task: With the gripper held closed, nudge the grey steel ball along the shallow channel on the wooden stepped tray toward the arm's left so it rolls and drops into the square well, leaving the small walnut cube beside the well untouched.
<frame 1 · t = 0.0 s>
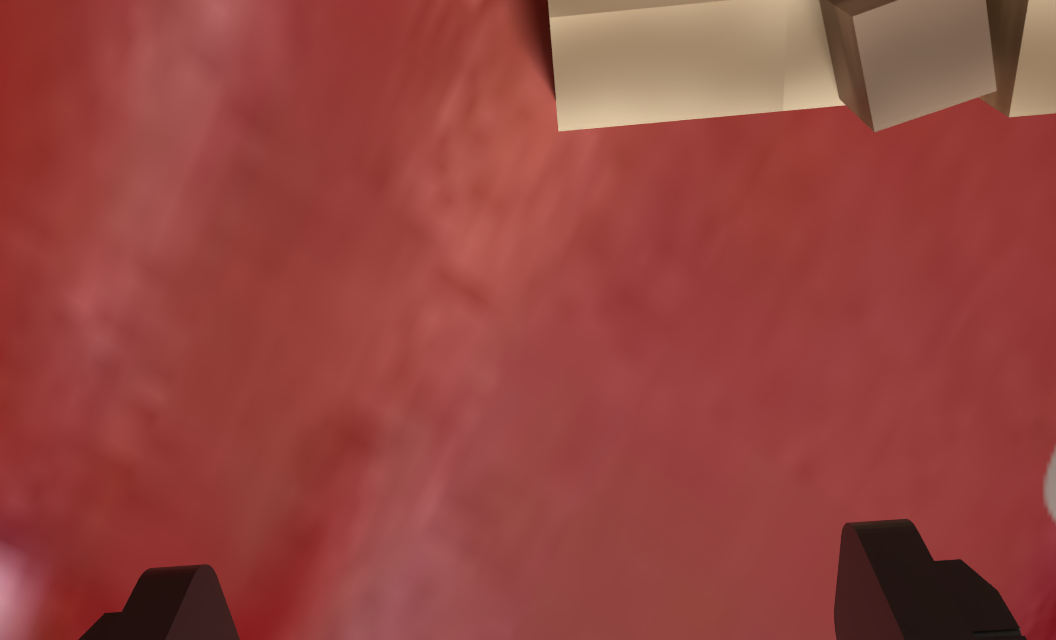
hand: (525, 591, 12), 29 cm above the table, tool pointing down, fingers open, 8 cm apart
walnut cube: (884, 28, 33), point 4 cm above the table, touching wooden stepped tray
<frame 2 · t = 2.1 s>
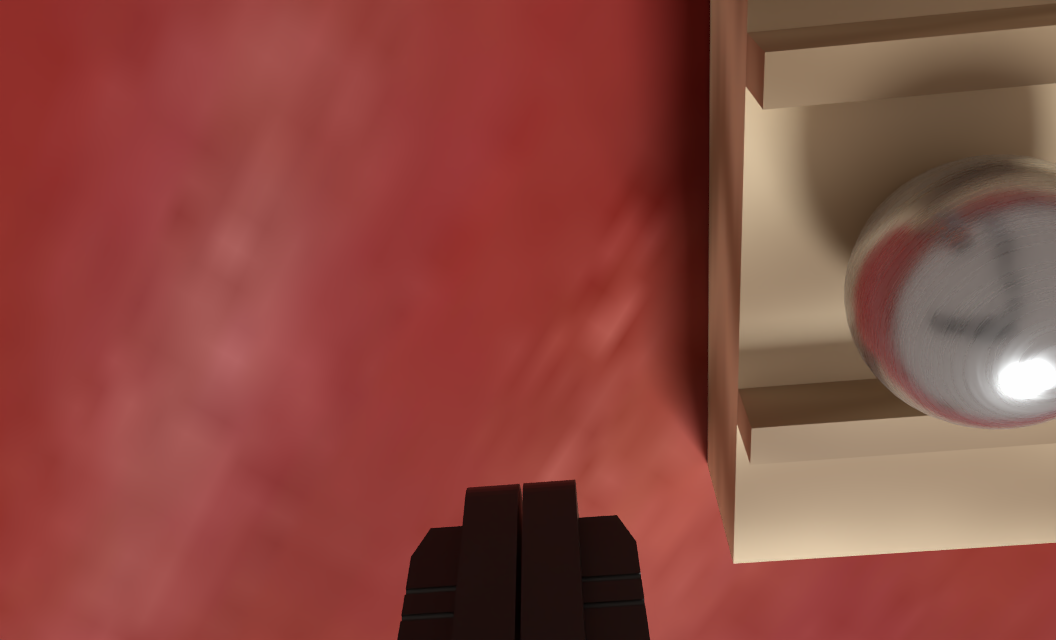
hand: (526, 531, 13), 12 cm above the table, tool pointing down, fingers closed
ball: (988, 292, 17), point 6 cm above the table, touching wooden stepped tray
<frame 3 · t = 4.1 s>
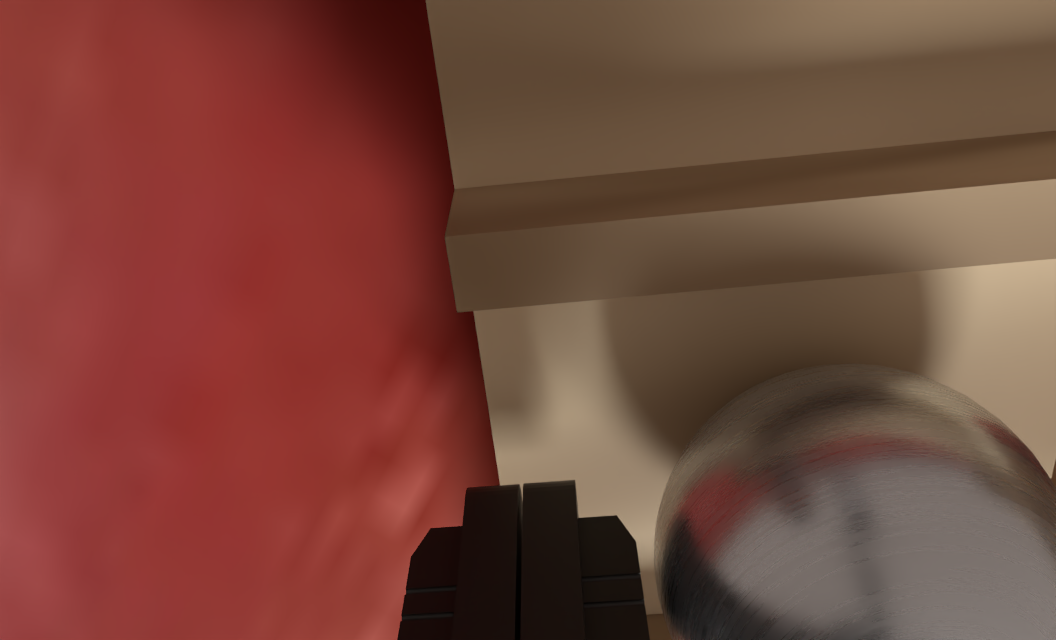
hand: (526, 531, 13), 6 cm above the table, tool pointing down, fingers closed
ball: (852, 560, 11), point 6 cm above the table, touching gripper, wooden stepped tray
wooden stepped tray: (982, 290, 17), on the table
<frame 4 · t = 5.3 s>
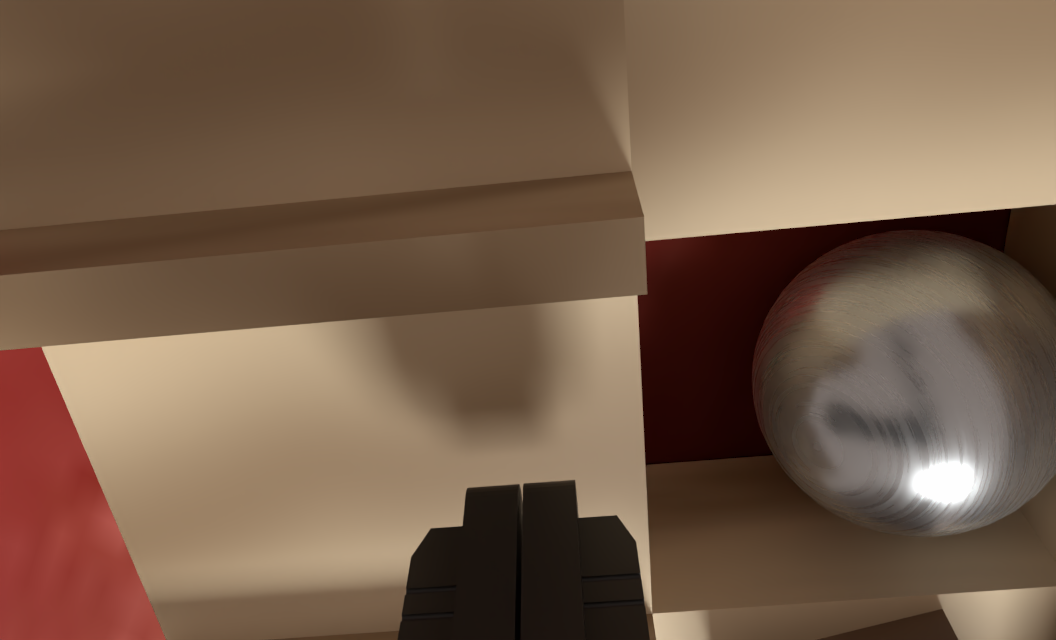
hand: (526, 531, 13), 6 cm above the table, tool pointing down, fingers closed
ball: (907, 381, 15), point 2 cm above the table, tilted 130°
wooden stepped tray: (648, 319, 17), on the table
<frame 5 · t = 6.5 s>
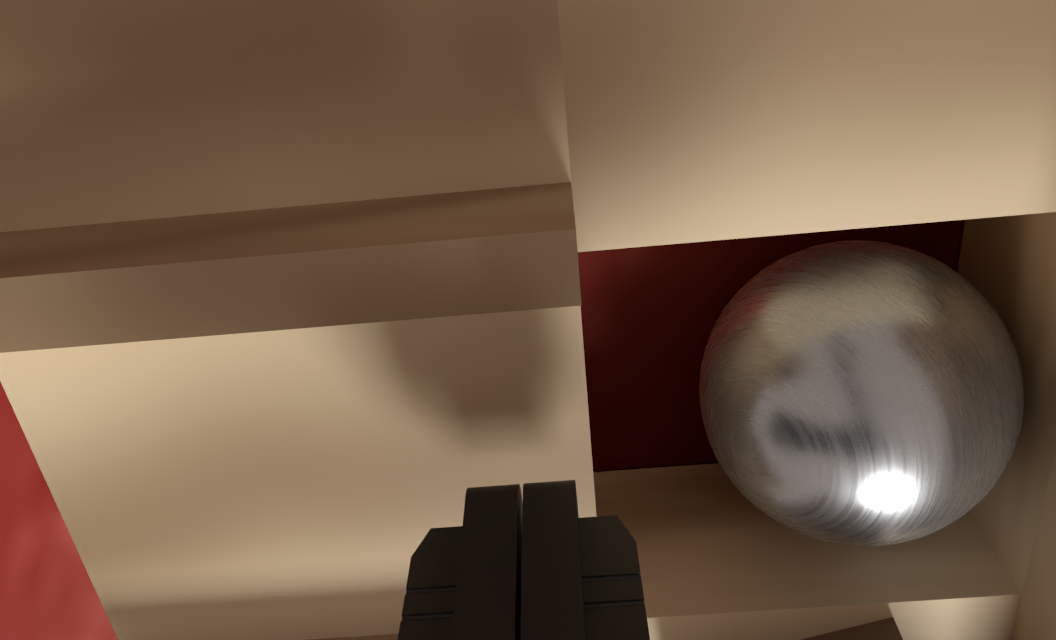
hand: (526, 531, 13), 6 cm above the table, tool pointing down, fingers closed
ball: (852, 391, 15), point 2 cm above the table, tilted 128°
wooden stepped tray: (606, 326, 17), on the table
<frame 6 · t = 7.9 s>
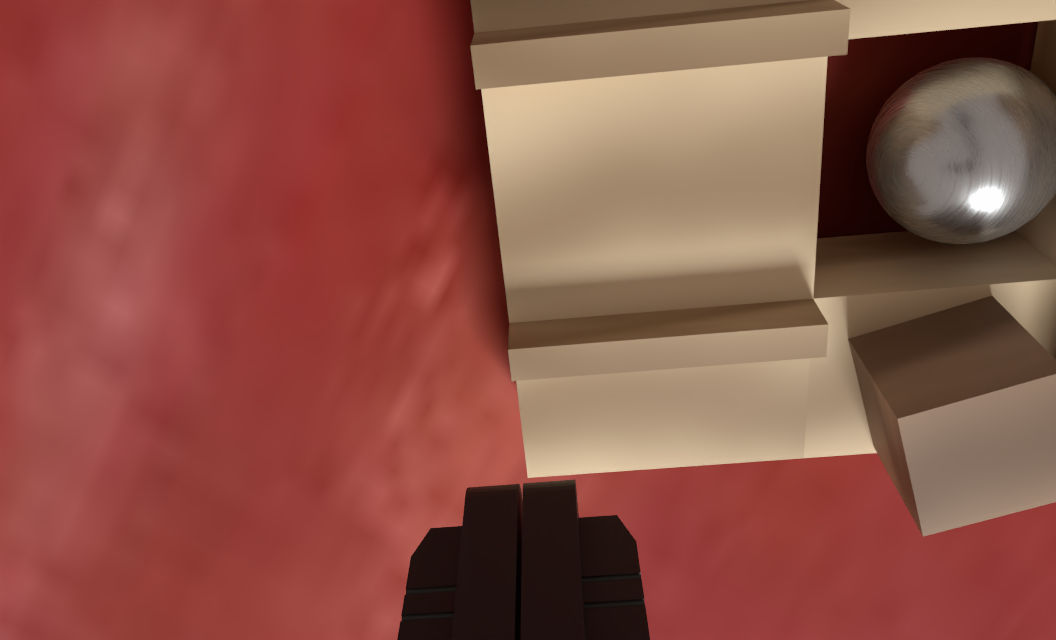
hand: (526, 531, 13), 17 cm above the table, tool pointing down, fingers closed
ball: (963, 152, 25), point 2 cm above the table, tilted 126°
wooden stepped tray: (800, 132, 27), on the table
walnut cube: (930, 374, 26), point 4 cm above the table, touching wooden stepped tray
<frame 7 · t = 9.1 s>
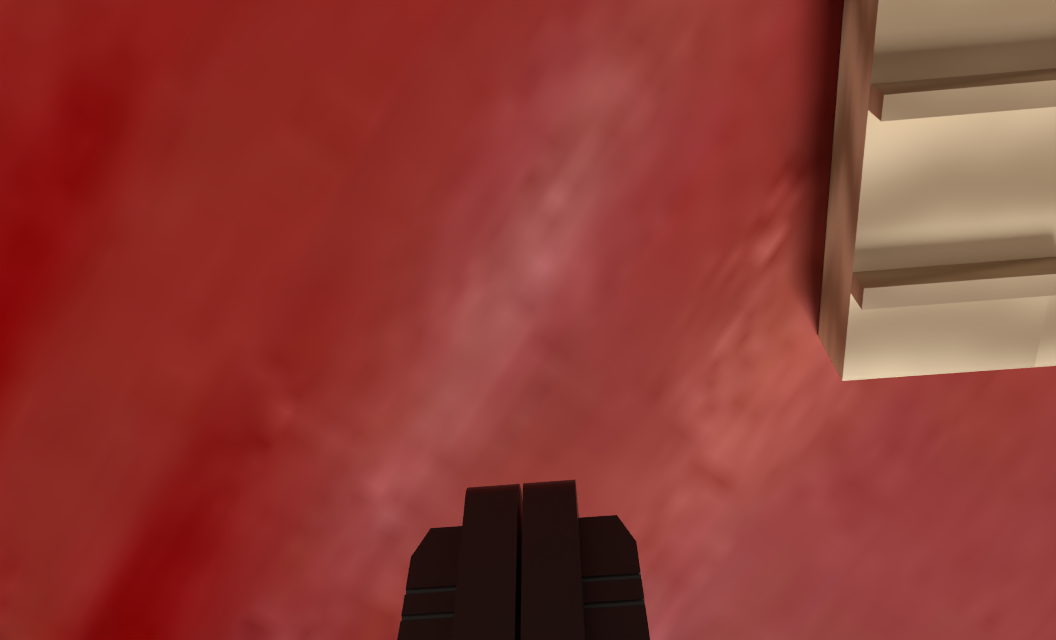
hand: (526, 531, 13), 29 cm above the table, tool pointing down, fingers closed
wooden stepped tray: (1039, 144, 40), on the table
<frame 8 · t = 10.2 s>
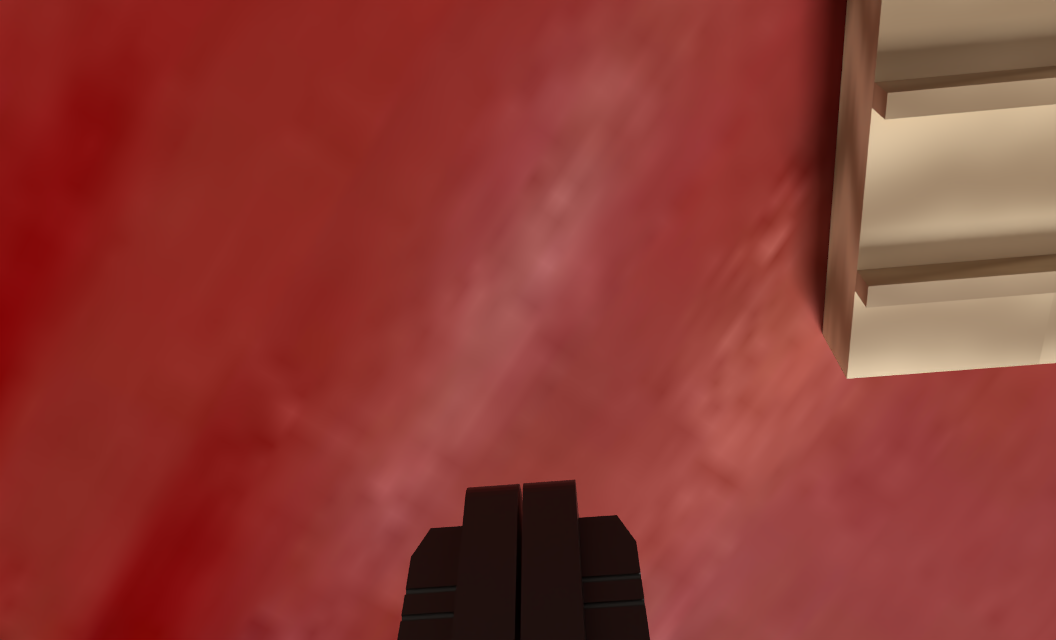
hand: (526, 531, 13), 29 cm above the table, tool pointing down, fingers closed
wooden stepped tray: (1043, 141, 40), on the table
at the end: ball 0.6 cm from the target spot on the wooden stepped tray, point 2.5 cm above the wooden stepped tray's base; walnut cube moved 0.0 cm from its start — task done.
